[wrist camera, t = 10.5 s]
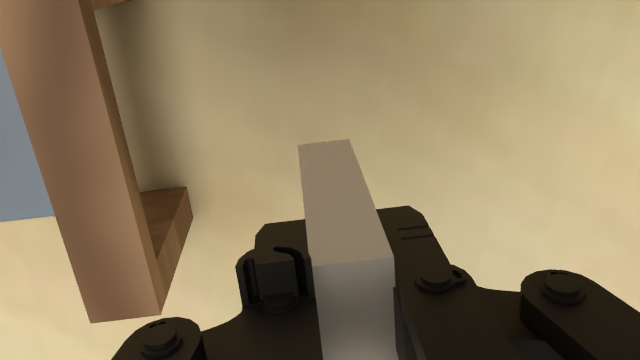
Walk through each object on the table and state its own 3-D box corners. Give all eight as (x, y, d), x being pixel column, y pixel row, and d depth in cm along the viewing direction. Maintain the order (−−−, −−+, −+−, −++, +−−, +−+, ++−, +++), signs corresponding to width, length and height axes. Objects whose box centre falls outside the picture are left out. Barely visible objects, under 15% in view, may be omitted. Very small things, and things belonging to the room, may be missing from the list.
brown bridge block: (136, -49, 25) (64, -51, 17) (193, 217, 31) (160, 315, 23) (74, -42, 25) (-30, -42, 17) (142, 223, 31) (90, 323, 23)
